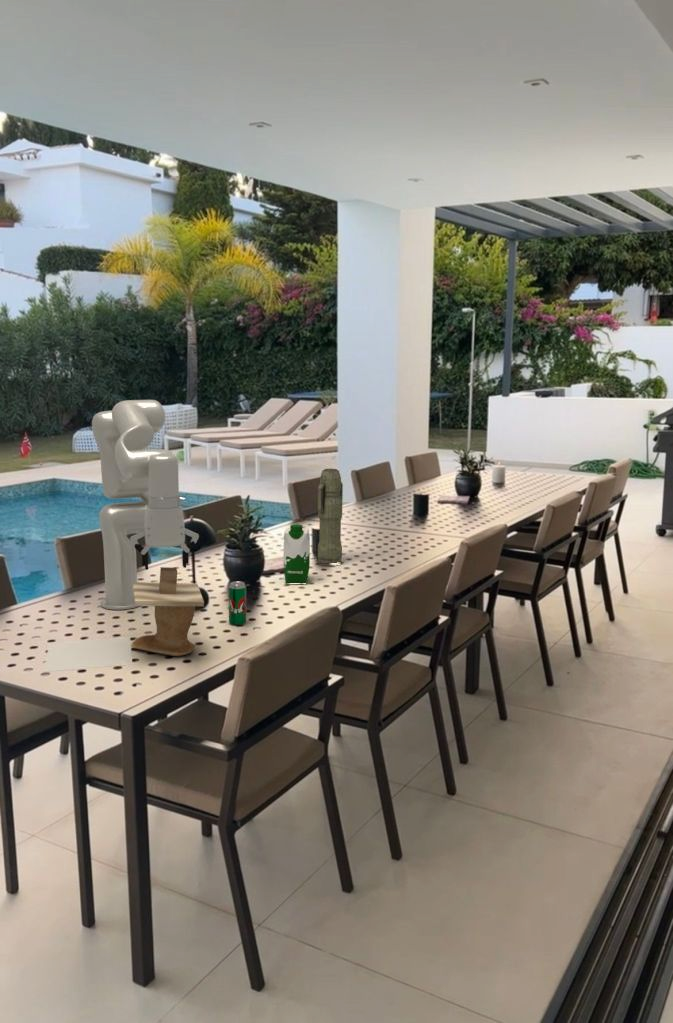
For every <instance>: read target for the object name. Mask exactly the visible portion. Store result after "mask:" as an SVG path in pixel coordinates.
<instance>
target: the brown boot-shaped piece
mask: <svg viewBox="0 0 673 1023" xmlns="http://www.w3.org/2000/svg"><path fill="white" fill-rule="evenodd" d="M195 610H196V606H154V619H155V624H156V633H155V634H151V635H150V634H146V635H142V636H140V637H138V638H136V639H135V640H134V641H133V642H131V643H132V644H131V648H134V649H138V650H142V651H146V652H150V653H154V654H155V653H156V654H159V655H160V654H161V655H165V656H174V657H175V656H176V657H181V656H185V655H189V654H190V653H191V652H193V651H194V650H195V648H196V645H195V644H194V643H193V642H191V641H189V639H188V634H189V630H190V628H191V625H192V623H193V620H194V616H195Z"/></svg>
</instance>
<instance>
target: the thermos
mask: <svg viewBox="0 0 673 1023" xmlns="http://www.w3.org/2000/svg"><path fill="white" fill-rule="evenodd" d="M319 478H320V479H319V484H318V487H317V513H318V514H317V516H318V519H319V524H318V525H319V529H318V531H319V532H318V533H319V540H318V545H317V557H318V558H317V559H318V560H317V562H318V561H319V562H322V563H337V562H341V563H342V558H343V546H342V542H341V540H342V539H341V536H342V528H341V526H342V518H343V495H344V494H343V492H344V491H343V488H344V486H343V485H344V484H343V482H342V477H341V473H340V470H338V469H336V468H324V469H323V470H322V471H321V473H320V477H319Z"/></svg>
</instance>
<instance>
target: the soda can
mask: <svg viewBox="0 0 673 1023" xmlns="http://www.w3.org/2000/svg"><path fill="white" fill-rule="evenodd" d="M245 584H246V583H245V582H244V581H236V580H235V581H232V582H229V586H228V587H227V591H228V592H227V593H228V623H229V624H230V625H232V626H243V625H245V624H246V623H247V585H245Z"/></svg>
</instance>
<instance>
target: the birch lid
mask: <svg viewBox="0 0 673 1023" xmlns="http://www.w3.org/2000/svg"><path fill="white" fill-rule="evenodd" d="M133 593H134V602H135V606H138V607H140V606H143V607H145V606H146V607H155V606H195V607H205V606H204V605H205V600H204V597H203V596H202V593H201V590H200V587H199V585H198V583H195V582H194V583H189V582H185V583H184V582H178V569H177V567H171V566H170V567H169V566H168V567H161V566H160V571H159V582H147V581H146V582H144V581H143V582H138V581H137V582H133Z"/></svg>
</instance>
